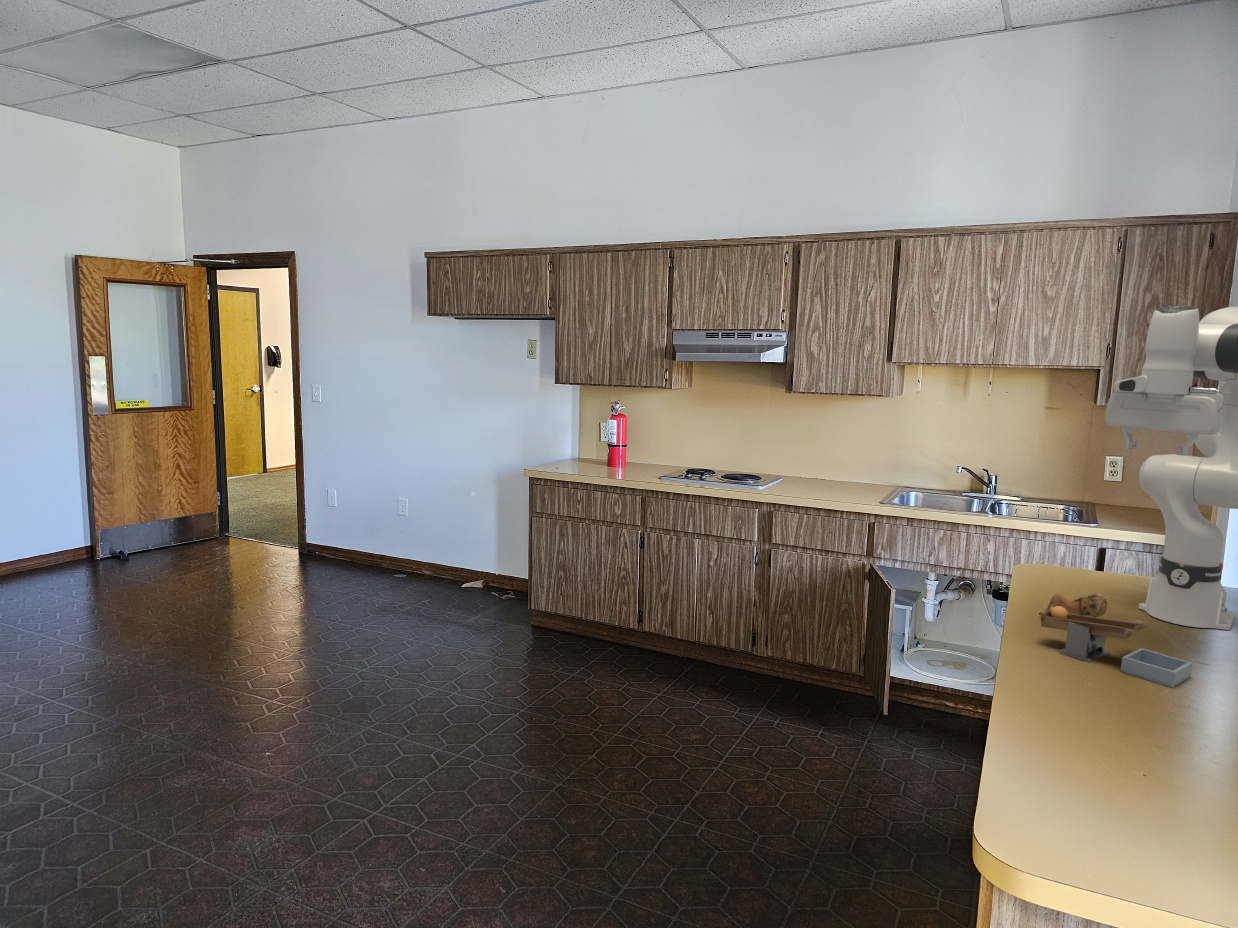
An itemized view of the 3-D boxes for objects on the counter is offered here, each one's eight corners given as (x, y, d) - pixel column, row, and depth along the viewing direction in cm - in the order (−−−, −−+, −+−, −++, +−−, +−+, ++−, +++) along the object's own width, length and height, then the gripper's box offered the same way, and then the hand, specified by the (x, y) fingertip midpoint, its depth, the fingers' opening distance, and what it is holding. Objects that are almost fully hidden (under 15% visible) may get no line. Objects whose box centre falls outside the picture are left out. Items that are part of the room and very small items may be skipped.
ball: (1054, 618, 174) (1054, 603, 173) (1070, 621, 171) (1070, 606, 171) (1047, 620, 172) (1047, 605, 171) (1063, 623, 169) (1063, 608, 169)
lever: (1068, 615, 179) (1068, 602, 179) (1149, 627, 166) (1149, 613, 166) (1041, 626, 171) (1040, 612, 171) (1124, 639, 159) (1123, 624, 159)
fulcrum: (1078, 644, 173) (1082, 613, 172) (1109, 653, 168) (1113, 621, 167) (1059, 652, 167) (1062, 621, 166) (1089, 662, 162) (1093, 629, 161)
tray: (1138, 662, 164) (1140, 647, 163) (1190, 677, 157) (1192, 662, 156) (1120, 671, 158) (1122, 656, 158) (1172, 687, 151) (1175, 672, 151)
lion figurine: (1109, 633, 180) (1114, 595, 179) (1097, 638, 177) (1102, 598, 176) (1044, 614, 192) (1048, 578, 191) (1032, 618, 189) (1036, 581, 188)
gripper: (1231, 388, 159) (1221, 458, 161) (1118, 382, 175) (1110, 445, 177) (1220, 388, 155) (1210, 459, 157) (1106, 382, 171) (1097, 446, 173)
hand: (1156, 452), depth 167 cm, fingers open, 8 cm apart
